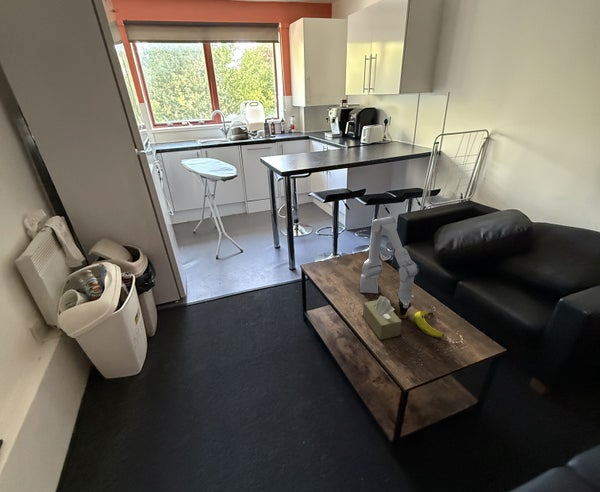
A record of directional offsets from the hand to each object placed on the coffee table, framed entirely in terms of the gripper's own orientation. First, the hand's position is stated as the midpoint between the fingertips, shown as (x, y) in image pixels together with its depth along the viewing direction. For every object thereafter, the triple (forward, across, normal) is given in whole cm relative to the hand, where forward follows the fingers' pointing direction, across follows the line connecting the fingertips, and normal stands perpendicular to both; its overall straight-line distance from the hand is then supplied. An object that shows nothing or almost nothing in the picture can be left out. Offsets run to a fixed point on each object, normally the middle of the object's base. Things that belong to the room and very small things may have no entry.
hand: (402, 311), depth 153 cm
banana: (+3, -6, -12) cm, 14 cm away
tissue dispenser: (+3, -9, +10) cm, 14 cm away
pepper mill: (+2, 0, 0) cm, 2 cm away
